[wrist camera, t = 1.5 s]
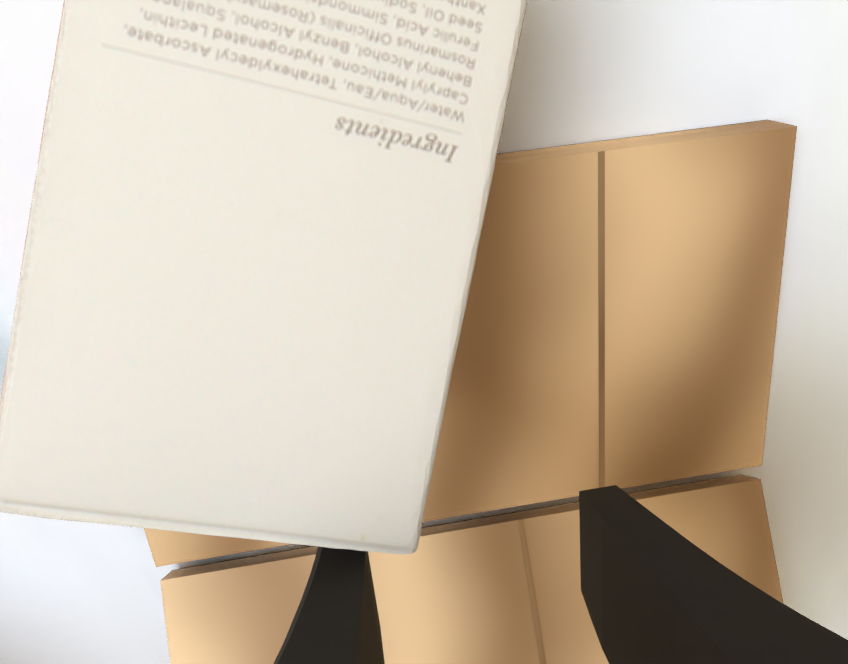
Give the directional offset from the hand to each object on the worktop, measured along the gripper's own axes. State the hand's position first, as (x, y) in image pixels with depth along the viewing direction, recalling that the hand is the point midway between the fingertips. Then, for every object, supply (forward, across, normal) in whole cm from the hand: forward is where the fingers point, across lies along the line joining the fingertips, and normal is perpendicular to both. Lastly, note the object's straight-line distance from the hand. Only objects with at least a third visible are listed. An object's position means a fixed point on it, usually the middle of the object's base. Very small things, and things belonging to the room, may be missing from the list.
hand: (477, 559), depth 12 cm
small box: (+6, 0, -11) cm, 12 cm away
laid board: (+9, -1, 0) cm, 9 cm away
